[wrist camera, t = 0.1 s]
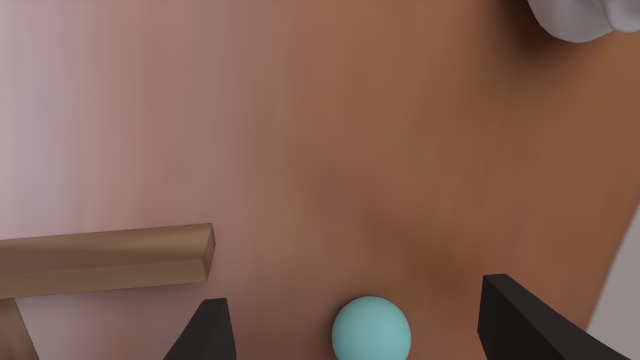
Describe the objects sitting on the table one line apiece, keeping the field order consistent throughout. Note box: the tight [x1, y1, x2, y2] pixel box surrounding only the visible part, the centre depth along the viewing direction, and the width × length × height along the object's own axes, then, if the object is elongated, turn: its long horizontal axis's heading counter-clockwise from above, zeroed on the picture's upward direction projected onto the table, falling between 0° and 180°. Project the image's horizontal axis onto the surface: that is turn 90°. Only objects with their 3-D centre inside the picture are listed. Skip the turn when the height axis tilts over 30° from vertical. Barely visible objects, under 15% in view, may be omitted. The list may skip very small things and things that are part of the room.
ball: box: [332, 296, 411, 360], centre depth 25 cm, size 4×4×4 cm
